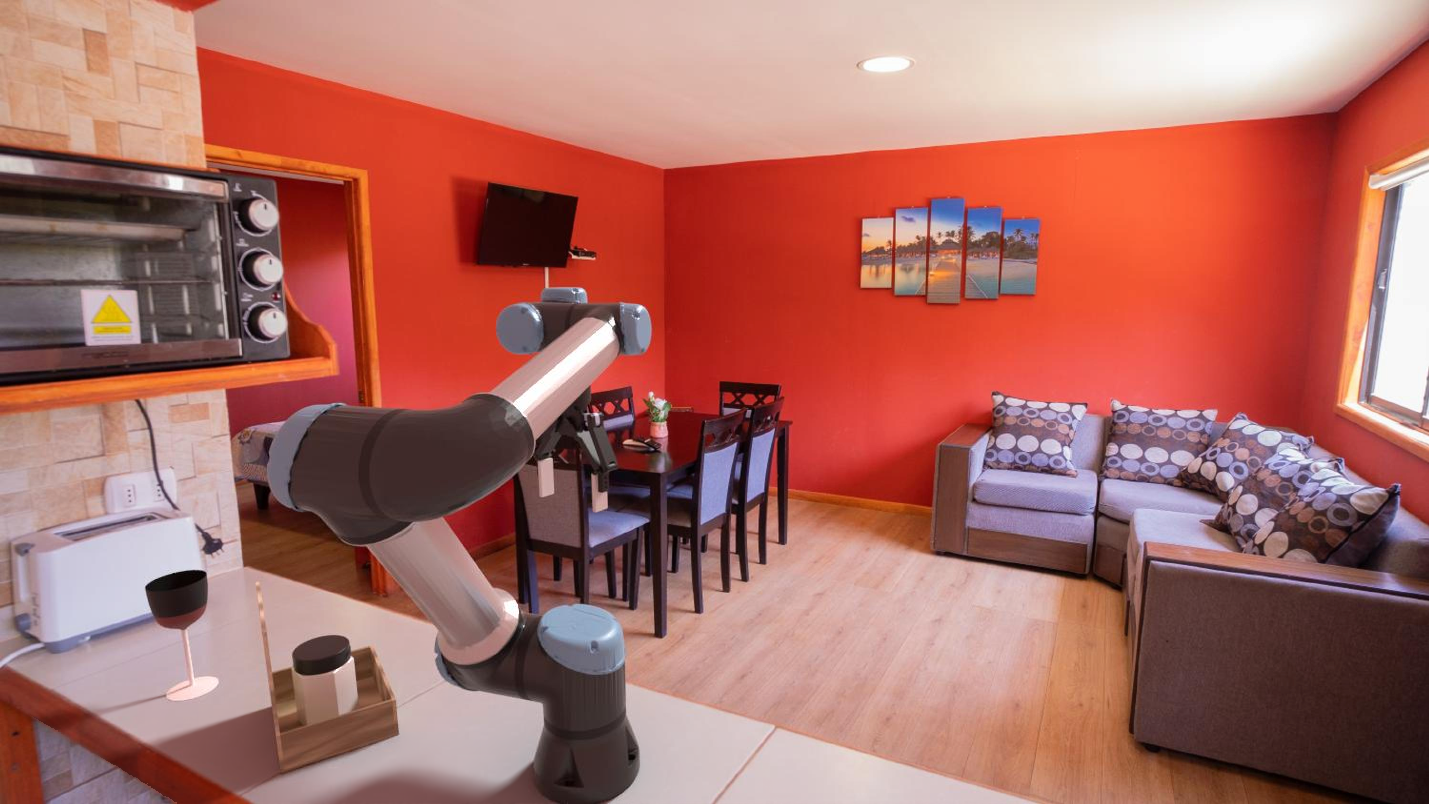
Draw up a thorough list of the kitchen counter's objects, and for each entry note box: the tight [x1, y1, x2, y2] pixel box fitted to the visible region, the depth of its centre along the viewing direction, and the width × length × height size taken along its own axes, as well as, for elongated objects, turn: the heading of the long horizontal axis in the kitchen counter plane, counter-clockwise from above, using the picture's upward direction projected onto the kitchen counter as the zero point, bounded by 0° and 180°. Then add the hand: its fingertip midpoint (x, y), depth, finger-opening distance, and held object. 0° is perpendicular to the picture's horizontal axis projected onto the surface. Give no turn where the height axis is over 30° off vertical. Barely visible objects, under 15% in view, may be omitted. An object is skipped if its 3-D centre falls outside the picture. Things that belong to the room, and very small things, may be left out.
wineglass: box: [144, 569, 220, 702], centre depth 126 cm, size 8×9×20 cm
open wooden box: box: [255, 581, 400, 775], centre depth 116 cm, size 20×16×22 cm
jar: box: [291, 634, 359, 726], centre depth 118 cm, size 9×8×12 cm
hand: (572, 502), depth 127 cm, fingers open, 13 cm apart
